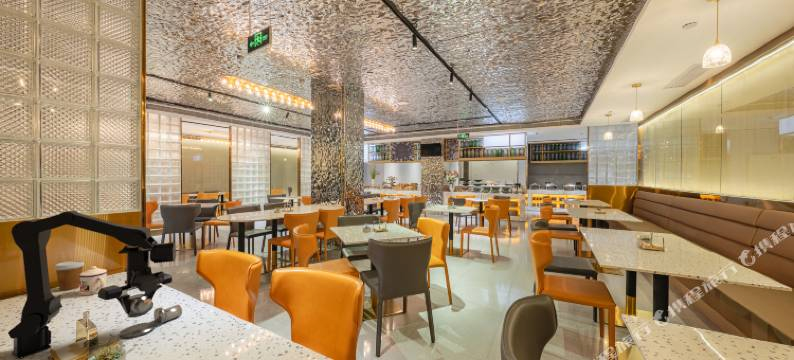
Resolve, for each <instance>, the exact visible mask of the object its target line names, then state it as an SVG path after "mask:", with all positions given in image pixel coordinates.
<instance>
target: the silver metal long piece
mask: <svg viewBox="0 0 794 360" xmlns="http://www.w3.org/2000/svg"><path fill="white" fill-rule="evenodd" d="M182 314H183V309H182V306H181V305H180V304H175V305H172V306H171V307H167V308H163V307H160V306H159V307H157V308H155V309H154V311H153V319H154V320H152V321H148V322H141V323H137V324H133V325H130V326H127V327H125V328H124V329H122V330H121V331H120V332H119V338H120V339H123V340H127V339H129V340H130V339H135V338H139V337H143V336H145V335H148V334H150V333H151V332H153V331H154V330H155V329H156V328H158V327H160V326H162V324H163V323H166V322H168V321H171V320H174V319H176V318H179V317H181V316H182Z"/></svg>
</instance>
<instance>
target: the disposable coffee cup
mask: <svg viewBox="0 0 794 360" xmlns="http://www.w3.org/2000/svg"><path fill="white" fill-rule="evenodd" d="M84 265H85V262H84V261H83V260H70V261H63V262H60V263H57V264H56V265H55V266H54V269H55V272H56V277H57V283H58V288H59V291H61V292H65V291H72V290H76V289H80V277H79V275H80V274H81V273H83V269H84Z"/></svg>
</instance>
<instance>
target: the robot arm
mask: <svg viewBox="0 0 794 360" xmlns="http://www.w3.org/2000/svg"><path fill="white" fill-rule="evenodd" d="M63 226H71V227H75V228H79V229H82V230H85V231H88V232H89V231H90V232H94V233H97V234H101V235H104V236H105V235H106V236H108V237H112V238H114V239H116V240H117V241H118V242H120V243H123V244H125V245H124V247H123V248H122V249H121V250H119V251H118V252H117V253H118V254H120V255H121V254H126V267H125V268H124V272H125V273H126V279H125V280H124V284H125V285H122V286H118V285H115V284H114V285H108V286H107V287H104V288H101V289H100V290H99V291H98V294H97V298H99V299H101V300H103V301H110V300H113V299H116V300H117V301H118V303H119V304H120V306H121V307H122V310H123V311H124V312H125V314H129V297H130V296H131V294H129V293H128V291H133V290H135V289H138V290H139V292H142V293H143V292H144V294H148V299H149V298H150V299H151V301H152V302H153V297H154V296H155V294H156V292H157V291H158V290H159V289H160V288H163V285H164V286H165V285H167V284H170V283H173V276H172V274H170V273H166V272H163V271H162V270H161V271H157V272H154V273H153V272H152V267H151V266H150V261H151V262H152V263H154V264H160V263H161V264H162V263H163V264H164V263H170V262H175V261H176V256H177V249H176V245H175V243H176V242H174V241H171V242H163V243H162V242H160V243H159V242H158V241H157V240H155V238H154V237H153V236H152V234H151V231H150V229H149V228H147V227H146V226H145V227H144V226H140V225H139V226H138V225H130V224H128V225H127V224H120V223H116V222H112V221H110V220H109V221H108V220H105V219H101V218H100V217H99V218H98V217H94V216H92V215H87V214H85V213H80V212H78V211H76V210H66V211H63V212H60V213H58V214H55V215H52V216H51V215H50V216H47V217H45V218H33V219H29V220H24V221H20V222H18V223H16V224H15V225H13V226H12V227H11V231H10V232H11V237H12V240H13V242H14V244H15V245H16V247H18V249H19V250H20V251H21V254H22V261H23V262H22V263H23V270H24V271H23V272H24V281H25V290H26V300H25V302H24V305H23V307H22V309H21V316H20V322H19V323H17V325H15V326H14V327H13V328H11V329H10V330H9V331H8V332H7V334H8V336H9V338H10V339H12V340H13V350H12V351H10V353H11V355H13V356H14V357H15V358H16V359H18V358H19V359H22V358H21V357H23V358H25V357H27V355H28V356H31V355H34V354H38V353H40V352H42V351H45V350H48V349H51V348H52V345H51V344H52V330H51V329H50V328H49V326H48V325H49V324H50V323H51V321H52V320H53V319H54V318H55V317H56V316H57V315H58V314H59V313H60V310H61V308H63V305H62V303H61V301H62V300H61V299H62V296H61V294H58V295H54V294H53V293H52V292H51V286H50V285H51V284H50V275H49V266H48V265H49V264H48V255H47V246H48V243H49V240H50V239H51V236H52V235H51V233H52V230H54V229H57V228H60V227H63ZM30 354H31V355H30ZM24 356H25V357H24Z"/></svg>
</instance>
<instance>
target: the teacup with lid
mask: <svg viewBox="0 0 794 360" xmlns="http://www.w3.org/2000/svg"><path fill="white" fill-rule="evenodd" d="M107 276H108V270H107V269H105V268H100V267H97V266H95V265H93V266H90V268H89V269H87V270H85V271H82V273H81V274H80V275H79V277H80V287H79V295H80V296H93V295H96V294H97V293H98V291H99V290H100V289H101V288H104V287H108V286H107V285H108V284H107V283H108V282H107V281H108V280H107V278H108V277H107ZM97 295H98V294H97Z"/></svg>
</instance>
